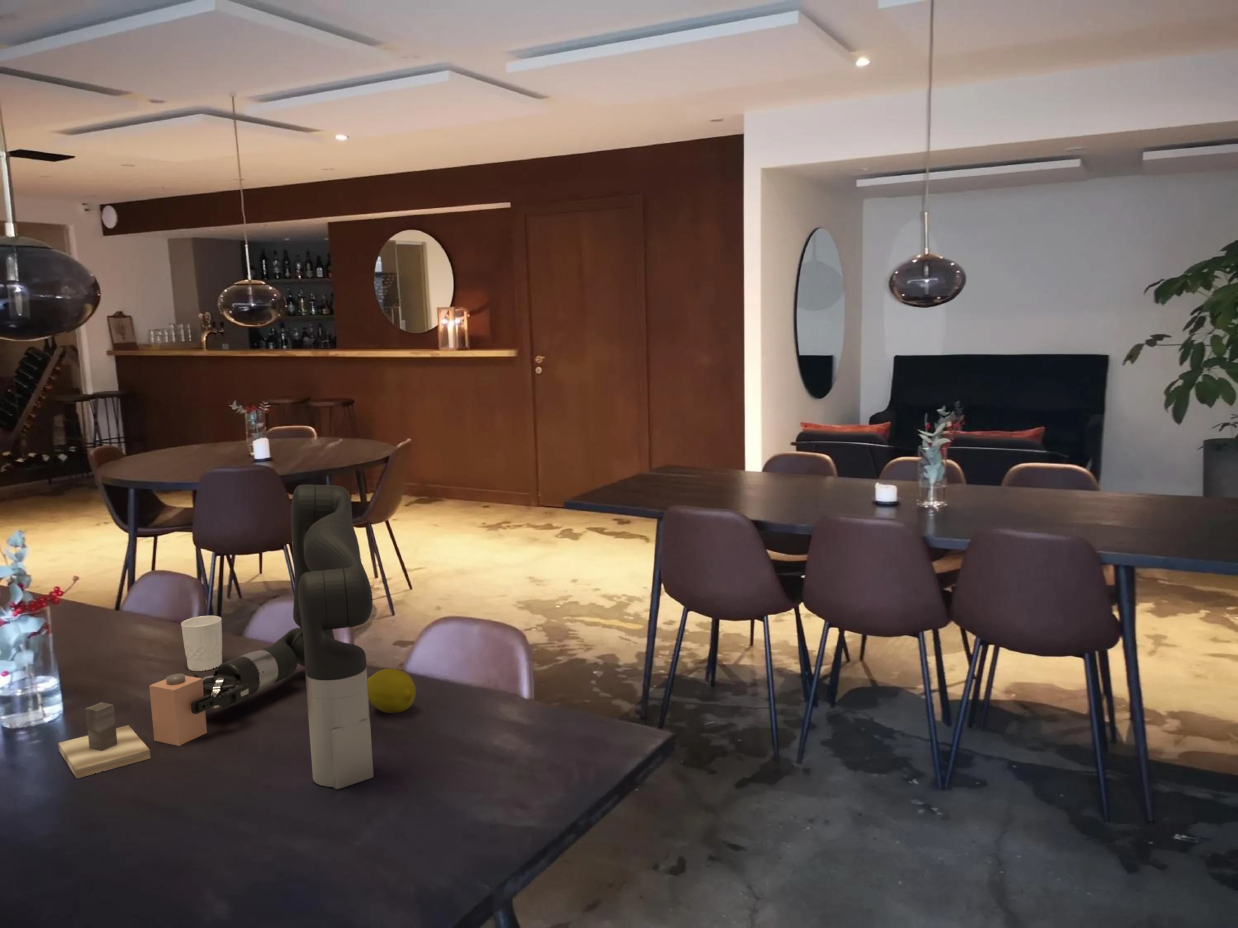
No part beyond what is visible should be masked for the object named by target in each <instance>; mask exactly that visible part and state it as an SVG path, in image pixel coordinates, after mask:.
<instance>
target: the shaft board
mask: <svg viewBox="0 0 1238 928" xmlns="http://www.w3.org/2000/svg"><path fill="white" fill-rule="evenodd" d="M115 715H116V714H115V705H114V704H111V703H107V702H98V703H95V704H94V705H90V706H88V707H85V719H86V727H87V730H86V731H87V735H83V736H80V737H76V738H72V739H69V740H63V741H61V742H58V751H59V753H60V755H61V756H62V757H63V759H64V761H65V762H66V764H67V766H68V767H69V769H70V770H71V772H72V774H73V775H74V777H75V778H76V779H81V778H84V777H87V776H92V775H94V774H95V773H96V774H98V773H103V772H106V771H110V770H113V769H117V768H120V767H124V766H128V765H132V764H135V763H138V762H142V761H146V760H149V759H151V751H150V748H149V747H148V746H147V745H146V744H145V742H144V741H143V740H142V739H141V738H140V737H139V736H138V734H137V733H135V731H134V730H133V728H131V726H130V725H129V724H127V725H123V726H120V727H117V726H116V716H115ZM102 771H103V772H102ZM96 774H95V775H96Z"/></svg>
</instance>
